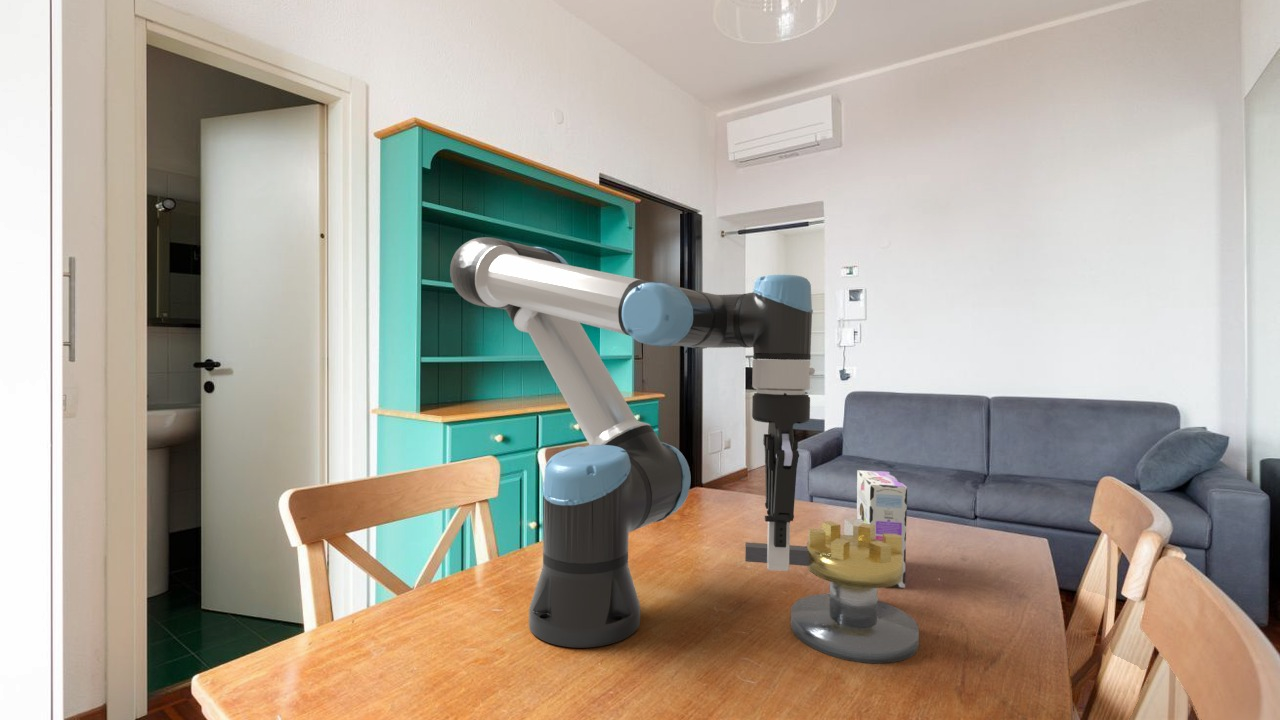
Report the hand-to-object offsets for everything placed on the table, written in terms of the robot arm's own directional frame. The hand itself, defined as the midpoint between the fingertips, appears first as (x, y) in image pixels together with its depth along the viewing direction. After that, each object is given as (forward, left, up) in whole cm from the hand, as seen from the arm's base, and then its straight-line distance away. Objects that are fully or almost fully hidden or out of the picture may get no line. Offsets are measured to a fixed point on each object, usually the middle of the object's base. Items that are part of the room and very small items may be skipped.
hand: (777, 568), depth 79 cm
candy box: (+22, +23, -9) cm, 33 cm away
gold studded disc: (+6, +1, 0) cm, 6 cm away
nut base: (+10, +2, -8) cm, 13 cm away
